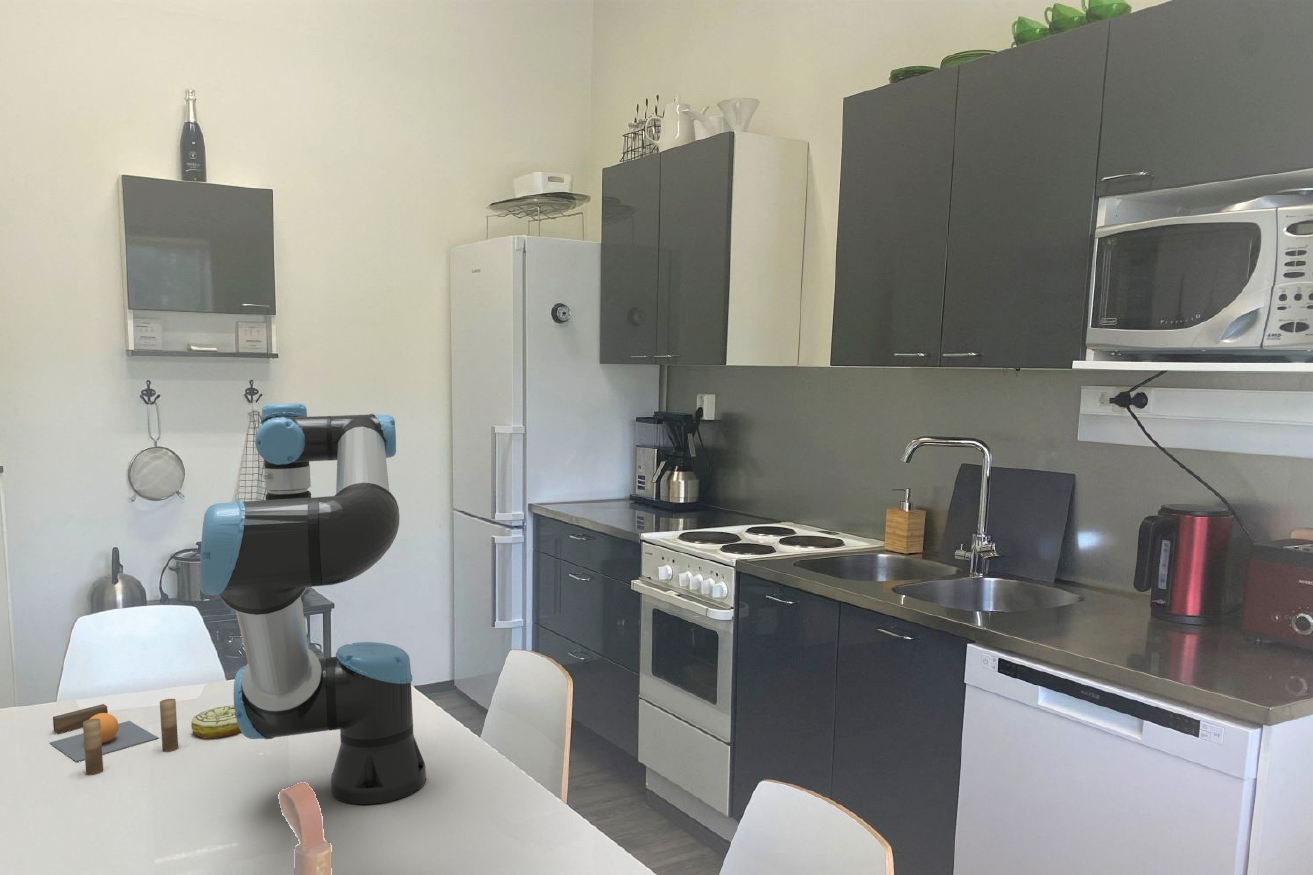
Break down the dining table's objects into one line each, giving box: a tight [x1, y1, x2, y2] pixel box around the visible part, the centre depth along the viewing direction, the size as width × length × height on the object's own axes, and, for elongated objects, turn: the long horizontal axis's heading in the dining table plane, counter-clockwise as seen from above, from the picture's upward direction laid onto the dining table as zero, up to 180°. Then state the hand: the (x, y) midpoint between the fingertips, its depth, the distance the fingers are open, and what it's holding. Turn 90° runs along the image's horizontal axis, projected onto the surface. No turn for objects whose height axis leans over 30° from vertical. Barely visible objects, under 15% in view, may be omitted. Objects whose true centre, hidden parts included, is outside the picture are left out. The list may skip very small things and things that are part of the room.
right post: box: [159, 698, 179, 753], centre depth 175 cm, size 3×3×9 cm
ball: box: [90, 712, 119, 744], centre depth 178 cm, size 6×6×6 cm
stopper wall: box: [52, 703, 109, 735], centre depth 187 cm, size 2×9×3 cm, turn 139°
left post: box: [82, 719, 104, 776], centre depth 165 cm, size 3×3×9 cm
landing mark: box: [49, 720, 159, 763], centre depth 180 cm, size 14×14×1 cm
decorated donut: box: [190, 704, 241, 739], centre depth 184 cm, size 10×11×4 cm
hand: (294, 622), depth 169 cm, fingers closed
